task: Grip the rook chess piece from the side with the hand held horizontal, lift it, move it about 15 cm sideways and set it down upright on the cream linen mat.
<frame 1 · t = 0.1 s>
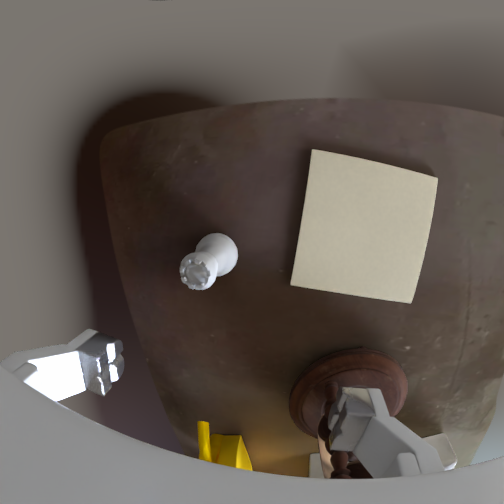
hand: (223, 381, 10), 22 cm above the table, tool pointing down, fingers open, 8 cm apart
rook chess piece: (218, 252, 32), on the table
linen mat: (368, 229, 29), on the table
box: (366, 491, 38), on the table
figure statuette: (232, 444, 38), on the table
scroll: (347, 390, 33), on the table
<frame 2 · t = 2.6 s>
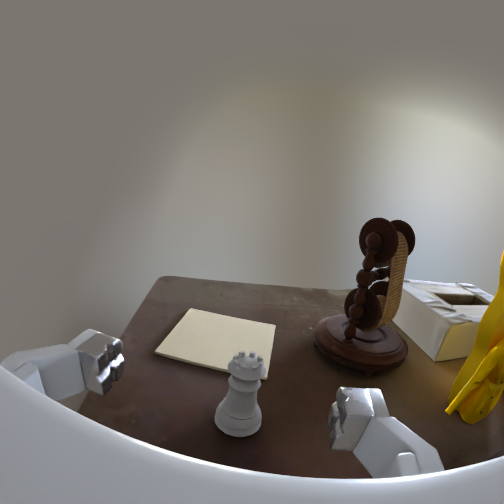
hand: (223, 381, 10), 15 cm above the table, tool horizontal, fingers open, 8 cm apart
rook chess piece: (237, 424, 25), on the table
linen mat: (221, 340, 40), on the table
box: (454, 329, 51), on the table
figure statuette: (467, 408, 26), on the table
scroll: (357, 352, 41), on the table
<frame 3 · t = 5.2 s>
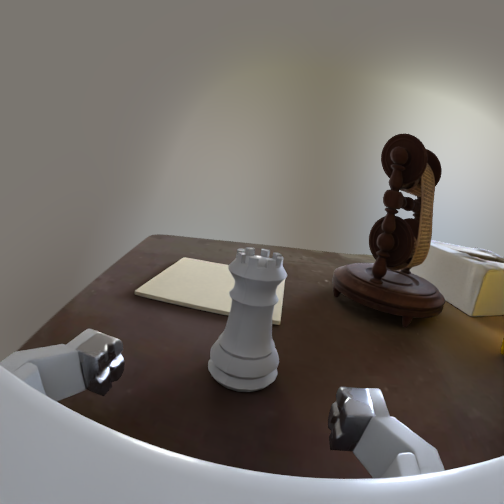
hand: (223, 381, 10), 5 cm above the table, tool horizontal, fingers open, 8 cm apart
rook chess piece: (241, 375, 18), on the table
linen mat: (220, 285, 33), on the table
box: (479, 293, 44), on the table
scroll: (385, 304, 34), on the table
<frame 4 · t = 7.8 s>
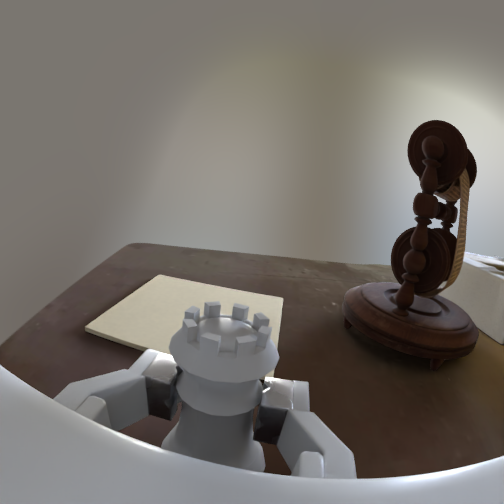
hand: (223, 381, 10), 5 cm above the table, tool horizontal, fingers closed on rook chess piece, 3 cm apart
rook chess piece: (210, 475, 10), on the table, touching gripper
linen mat: (198, 316, 25), on the table
box: (501, 309, 36), on the table
scroll: (406, 335, 26), on the table
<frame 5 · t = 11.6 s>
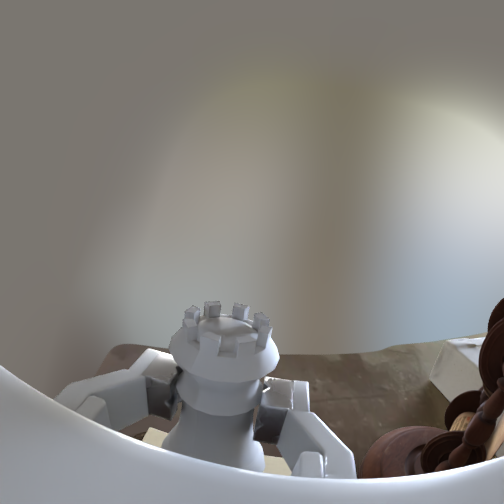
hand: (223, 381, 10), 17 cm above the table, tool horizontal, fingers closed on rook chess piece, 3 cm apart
rook chess piece: (210, 475, 10), point 12 cm above the table, touching gripper
scroll: (418, 490, 17), on the table
when the fingers open (5 cm above the table, at t = 15.5 s): rook chess piece stays where it is, resting on linen mat.
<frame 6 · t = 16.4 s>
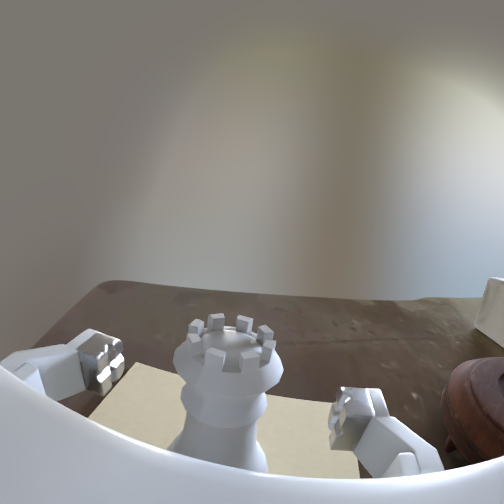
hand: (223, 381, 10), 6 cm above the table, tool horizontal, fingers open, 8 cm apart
rook chess piece: (214, 481, 10), resting on linen mat
linen mat: (211, 480, 10), on the table
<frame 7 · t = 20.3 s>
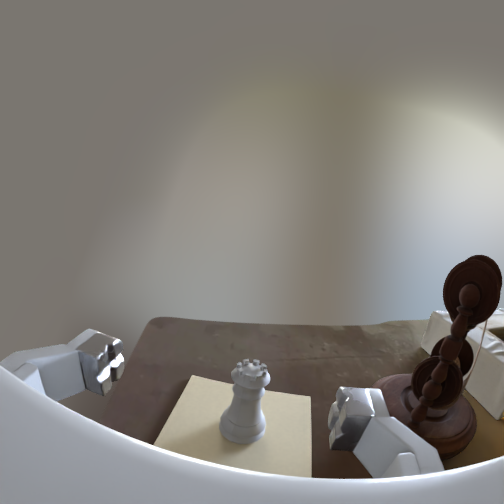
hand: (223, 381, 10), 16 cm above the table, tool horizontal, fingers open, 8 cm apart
rook chess piece: (241, 431, 25), resting on linen mat
linen mat: (239, 431, 25), on the table
box: (502, 367, 36), on the table
scroll: (415, 425, 26), on the table
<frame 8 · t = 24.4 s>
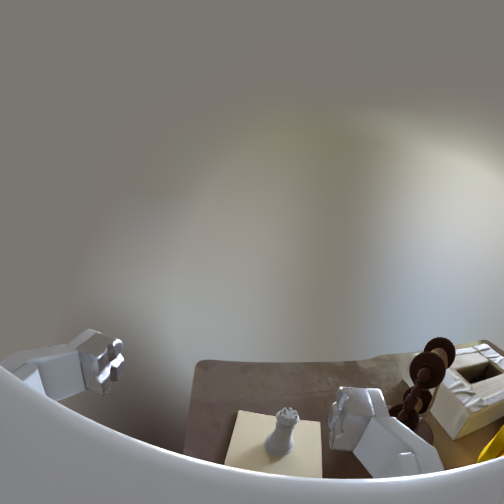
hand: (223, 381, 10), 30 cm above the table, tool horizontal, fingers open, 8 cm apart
rook chess piece: (277, 447, 37), resting on linen mat
linen mat: (276, 448, 38), on the table
box: (468, 395, 49), on the table
figure statuette: (474, 485, 24), on the table
scroll: (390, 442, 39), on the table
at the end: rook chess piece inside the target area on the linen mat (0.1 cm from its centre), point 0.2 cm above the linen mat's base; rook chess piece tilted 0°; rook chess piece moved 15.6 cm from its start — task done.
